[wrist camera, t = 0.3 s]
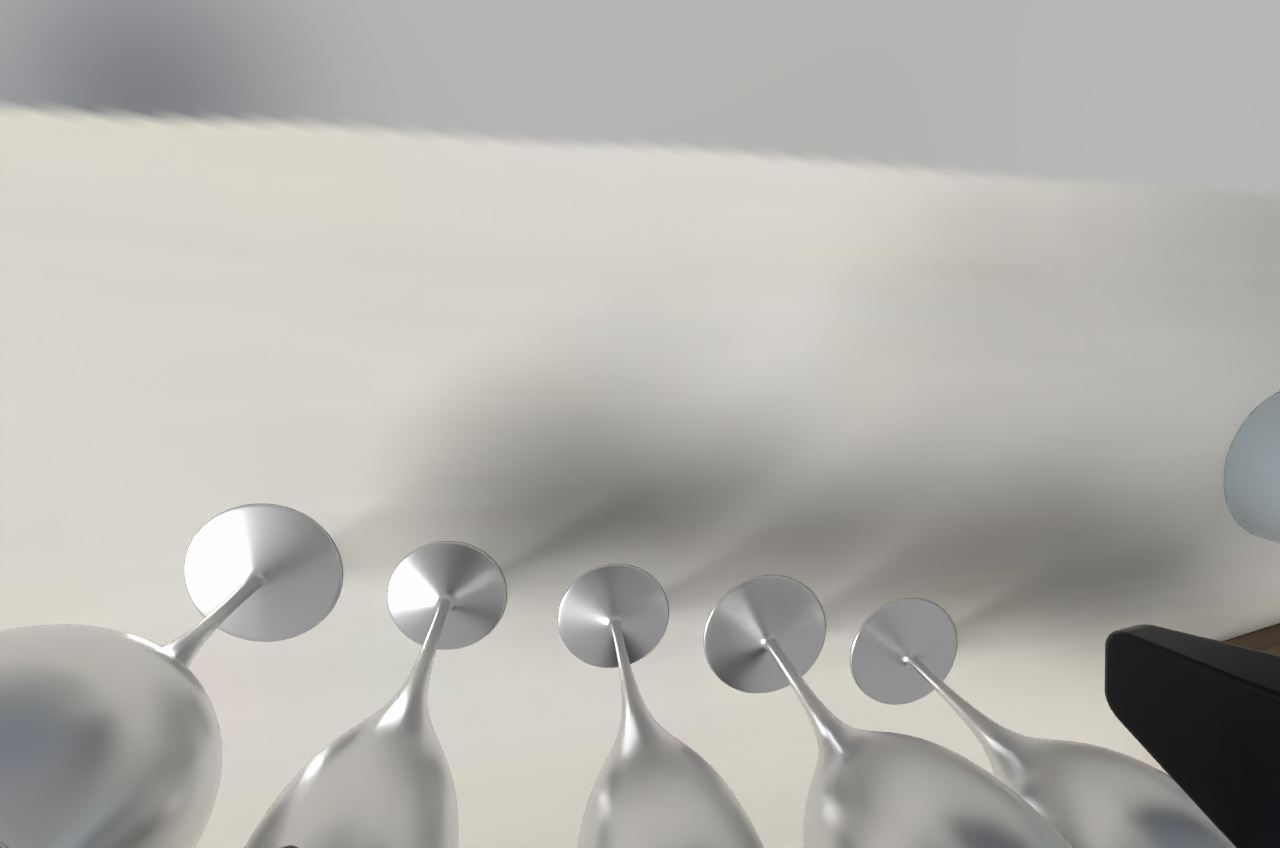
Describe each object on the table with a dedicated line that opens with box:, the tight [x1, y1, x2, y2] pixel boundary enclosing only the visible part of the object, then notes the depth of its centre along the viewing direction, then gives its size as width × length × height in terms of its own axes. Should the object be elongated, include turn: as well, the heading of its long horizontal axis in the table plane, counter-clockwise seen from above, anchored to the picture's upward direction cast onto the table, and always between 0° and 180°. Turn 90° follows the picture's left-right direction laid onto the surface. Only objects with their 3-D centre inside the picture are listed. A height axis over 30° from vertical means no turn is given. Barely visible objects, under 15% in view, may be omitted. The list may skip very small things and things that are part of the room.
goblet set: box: [0, 504, 1236, 848], centre depth 15 cm, size 28×6×13 cm, turn 78°
